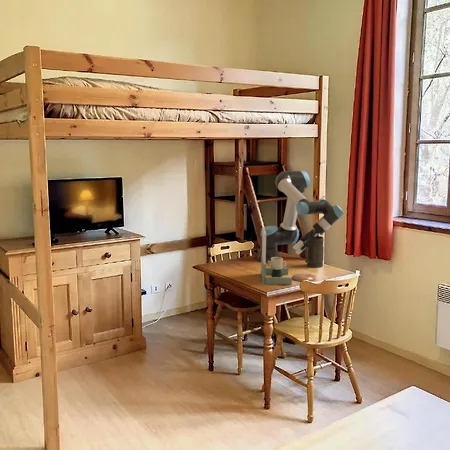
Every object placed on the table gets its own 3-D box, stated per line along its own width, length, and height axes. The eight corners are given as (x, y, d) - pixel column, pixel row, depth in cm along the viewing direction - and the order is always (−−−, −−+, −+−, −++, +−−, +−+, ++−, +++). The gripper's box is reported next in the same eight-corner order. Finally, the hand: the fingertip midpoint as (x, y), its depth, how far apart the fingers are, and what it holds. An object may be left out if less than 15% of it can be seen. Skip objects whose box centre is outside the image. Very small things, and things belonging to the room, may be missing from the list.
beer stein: (313, 262, 361) (313, 234, 356) (327, 265, 353) (327, 236, 349) (300, 268, 350) (300, 238, 346) (313, 271, 342) (313, 241, 338)
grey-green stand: (287, 274, 330) (289, 227, 325) (291, 284, 307) (293, 234, 302) (261, 273, 331) (262, 226, 326) (262, 284, 307) (263, 233, 302)
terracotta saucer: (287, 277, 322) (287, 275, 322) (304, 274, 330) (304, 272, 330) (303, 282, 311) (303, 280, 310) (320, 279, 318) (320, 277, 318)
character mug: (285, 277, 322) (285, 257, 320) (285, 280, 315) (286, 259, 313) (267, 277, 322) (267, 256, 320) (267, 280, 315) (267, 259, 313)
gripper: (329, 234, 300) (302, 260, 303) (322, 227, 325) (297, 251, 328) (320, 225, 300) (293, 250, 302) (314, 218, 324) (289, 242, 327)
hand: (295, 251), depth 315 cm, fingers open, 13 cm apart
